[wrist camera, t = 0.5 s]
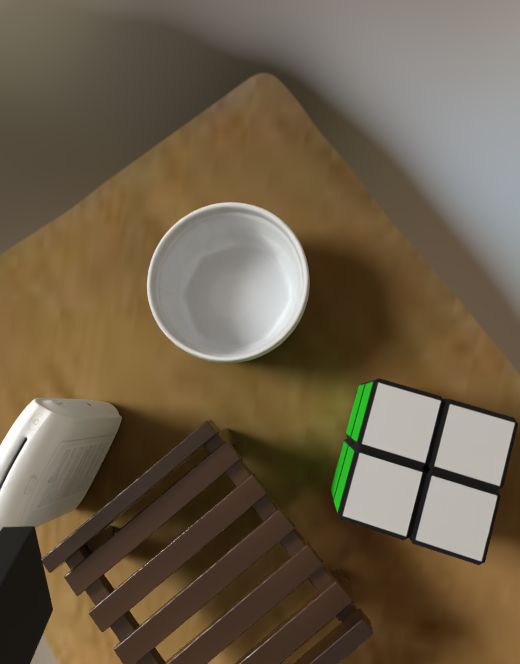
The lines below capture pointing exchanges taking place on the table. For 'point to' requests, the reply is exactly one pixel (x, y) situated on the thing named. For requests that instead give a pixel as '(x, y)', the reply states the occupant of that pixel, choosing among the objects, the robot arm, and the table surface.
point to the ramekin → (228, 282)
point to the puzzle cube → (423, 468)
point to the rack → (140, 640)
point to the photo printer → (53, 458)
